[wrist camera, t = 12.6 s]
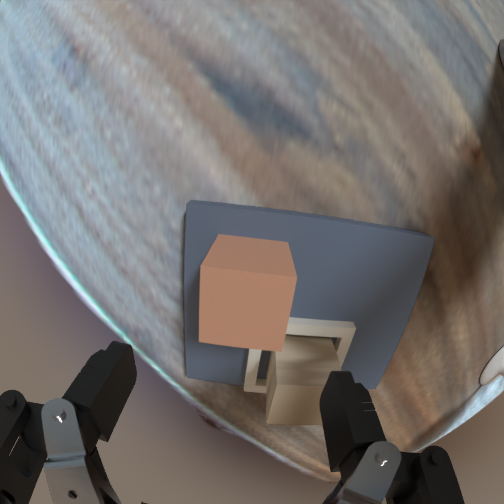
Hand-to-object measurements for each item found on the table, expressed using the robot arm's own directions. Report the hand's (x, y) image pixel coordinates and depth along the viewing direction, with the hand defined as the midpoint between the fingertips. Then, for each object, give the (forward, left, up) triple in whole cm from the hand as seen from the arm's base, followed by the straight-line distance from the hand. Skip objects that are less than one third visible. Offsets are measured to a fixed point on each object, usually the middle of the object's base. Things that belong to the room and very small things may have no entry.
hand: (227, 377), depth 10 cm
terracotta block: (0, 0, -11) cm, 11 cm away
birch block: (-6, +8, -11) cm, 15 cm away
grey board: (-5, +4, -13) cm, 14 cm away
